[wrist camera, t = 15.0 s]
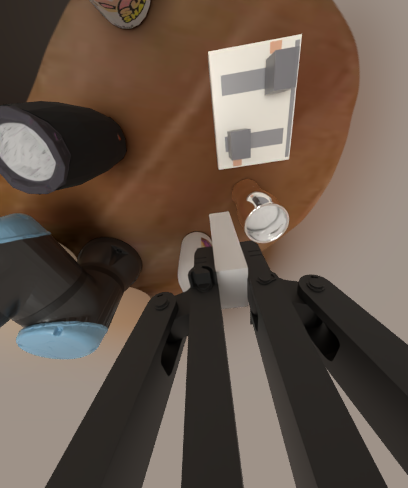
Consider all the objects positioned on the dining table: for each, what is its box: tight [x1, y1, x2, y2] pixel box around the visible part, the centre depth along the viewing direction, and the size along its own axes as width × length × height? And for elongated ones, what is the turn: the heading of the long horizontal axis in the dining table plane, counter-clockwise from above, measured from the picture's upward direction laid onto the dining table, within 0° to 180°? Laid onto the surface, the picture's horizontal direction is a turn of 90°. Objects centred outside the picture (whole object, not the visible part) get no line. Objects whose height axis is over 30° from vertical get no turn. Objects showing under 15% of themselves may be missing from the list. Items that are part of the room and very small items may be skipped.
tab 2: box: [265, 46, 300, 95], centre depth 26 cm, size 3×4×4 cm
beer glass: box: [232, 179, 289, 243], centre depth 34 cm, size 7×7×15 cm
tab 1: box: [227, 128, 251, 161], centre depth 30 cm, size 3×4×4 cm
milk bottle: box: [178, 232, 212, 292], centre depth 38 cm, size 8×8×20 cm
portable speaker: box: [0, 101, 127, 194], centre depth 26 cm, size 9×9×20 cm
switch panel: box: [208, 34, 302, 170], centre depth 31 cm, size 13×16×3 cm
